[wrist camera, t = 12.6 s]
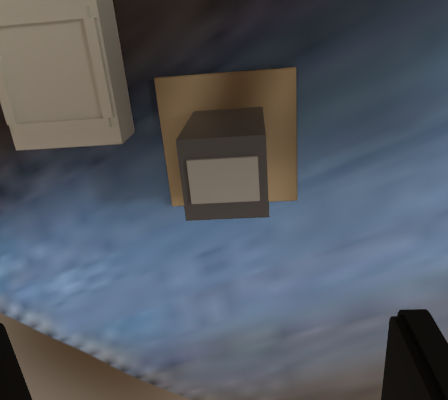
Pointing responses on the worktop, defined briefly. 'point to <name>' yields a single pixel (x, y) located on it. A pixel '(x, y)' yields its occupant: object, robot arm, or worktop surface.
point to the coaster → (229, 99)
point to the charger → (224, 164)
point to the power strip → (63, 74)
